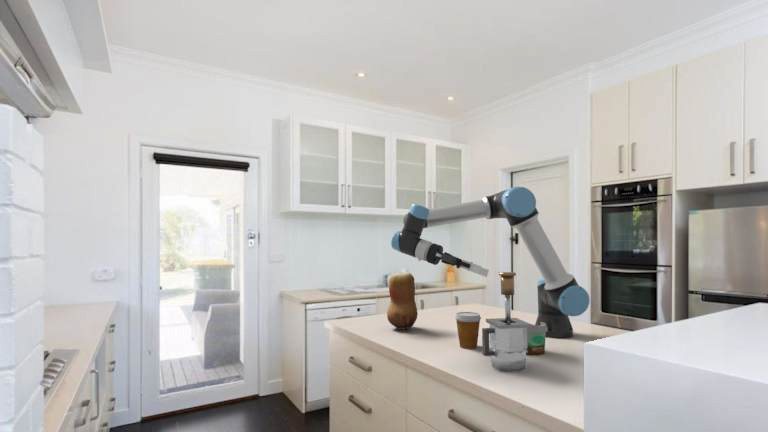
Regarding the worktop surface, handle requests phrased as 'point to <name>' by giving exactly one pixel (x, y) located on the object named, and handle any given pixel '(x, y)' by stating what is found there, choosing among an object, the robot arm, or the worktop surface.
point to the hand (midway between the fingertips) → (483, 271)
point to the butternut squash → (402, 301)
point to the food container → (536, 339)
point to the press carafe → (506, 344)
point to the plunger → (507, 291)
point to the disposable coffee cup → (468, 329)
